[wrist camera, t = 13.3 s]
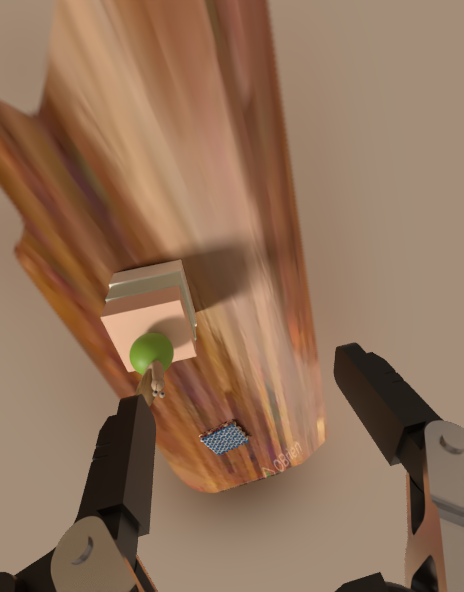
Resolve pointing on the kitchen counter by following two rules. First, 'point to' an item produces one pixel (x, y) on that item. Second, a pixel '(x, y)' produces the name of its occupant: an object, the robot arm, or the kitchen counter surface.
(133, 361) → the snail figurine
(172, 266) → the stacked pastel boxes
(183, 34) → the kitchen counter surface
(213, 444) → the woven mat
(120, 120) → the kitchen counter surface
